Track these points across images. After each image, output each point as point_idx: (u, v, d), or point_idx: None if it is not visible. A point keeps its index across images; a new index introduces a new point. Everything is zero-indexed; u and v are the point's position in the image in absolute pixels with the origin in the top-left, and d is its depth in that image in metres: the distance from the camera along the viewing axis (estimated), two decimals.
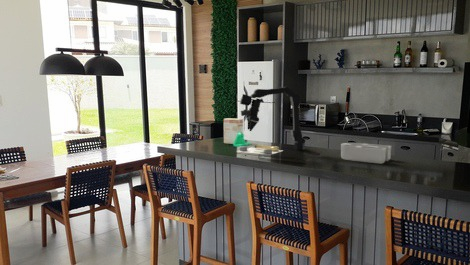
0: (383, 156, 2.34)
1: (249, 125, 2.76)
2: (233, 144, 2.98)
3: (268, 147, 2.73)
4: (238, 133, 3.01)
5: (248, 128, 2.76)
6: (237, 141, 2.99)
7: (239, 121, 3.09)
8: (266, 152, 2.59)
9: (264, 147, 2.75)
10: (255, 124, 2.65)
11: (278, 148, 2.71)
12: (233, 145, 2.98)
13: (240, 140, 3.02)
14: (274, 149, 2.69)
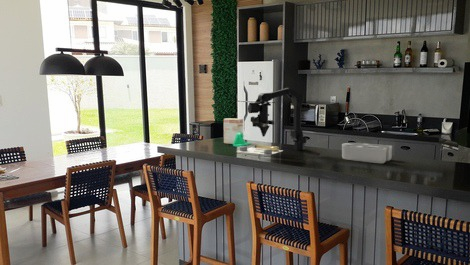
0: (384, 156, 2.35)
1: None
2: (233, 144, 2.99)
3: (268, 147, 2.73)
4: (238, 133, 3.01)
5: (263, 135, 2.65)
6: (237, 141, 3.00)
7: (239, 121, 3.09)
8: (266, 152, 2.59)
9: (264, 147, 2.75)
10: (264, 129, 2.62)
11: (278, 148, 2.71)
12: (233, 145, 2.99)
13: (239, 140, 3.02)
14: (274, 149, 2.69)
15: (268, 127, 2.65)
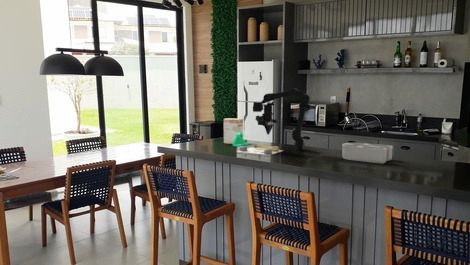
0: (384, 156, 2.35)
1: None
2: None
3: (268, 147, 2.73)
4: (237, 133, 3.01)
5: (267, 133, 2.80)
6: (236, 141, 3.00)
7: (239, 121, 3.09)
8: (266, 152, 2.59)
9: (264, 147, 2.75)
10: (269, 127, 2.77)
11: (278, 148, 2.71)
12: (233, 145, 2.99)
13: (239, 140, 3.02)
14: (274, 149, 2.69)
15: (272, 125, 2.79)
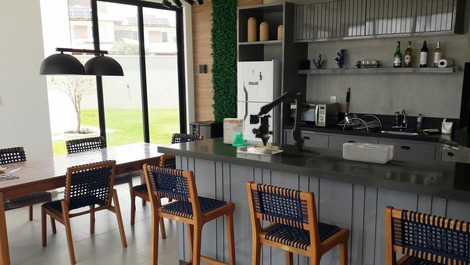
0: (385, 156, 2.35)
1: None
2: (232, 144, 2.99)
3: (268, 147, 2.73)
4: (237, 133, 3.01)
5: (264, 145, 2.78)
6: (236, 141, 3.00)
7: (239, 121, 3.09)
8: (266, 152, 2.59)
9: (264, 147, 2.75)
10: (266, 140, 2.75)
11: (278, 148, 2.71)
12: (232, 145, 2.99)
13: (239, 140, 3.02)
14: (274, 149, 2.69)
15: None
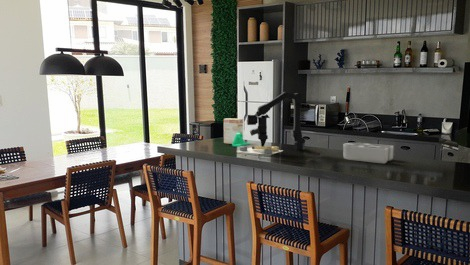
0: (385, 156, 2.35)
1: None
2: (232, 144, 2.99)
3: (268, 147, 2.72)
4: (237, 133, 3.01)
5: None
6: (236, 141, 3.00)
7: (239, 121, 3.09)
8: (266, 152, 2.59)
9: (263, 148, 2.73)
10: (265, 140, 2.73)
11: (278, 148, 2.72)
12: (232, 145, 2.99)
13: (239, 140, 3.02)
14: (276, 149, 2.69)
15: None
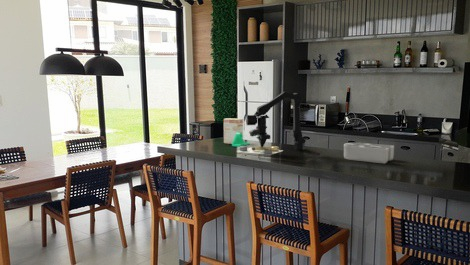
0: (386, 156, 2.35)
1: None
2: (232, 144, 2.99)
3: (268, 148, 2.71)
4: (237, 133, 3.01)
5: None
6: (236, 141, 3.00)
7: (239, 121, 3.09)
8: (266, 152, 2.59)
9: (264, 148, 2.70)
10: (265, 140, 2.71)
11: None
12: (232, 145, 2.99)
13: (238, 140, 3.02)
14: (277, 149, 2.70)
15: None
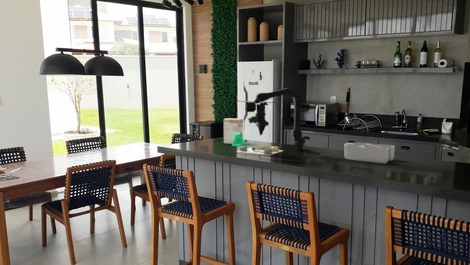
0: (386, 156, 2.35)
1: None
2: (232, 144, 2.99)
3: (268, 148, 2.71)
4: (237, 133, 3.02)
5: None
6: (236, 141, 3.00)
7: (239, 121, 3.09)
8: (266, 152, 2.59)
9: (264, 148, 2.70)
10: (264, 127, 2.71)
11: None
12: (232, 145, 2.99)
13: (238, 140, 3.03)
14: (277, 149, 2.70)
15: None
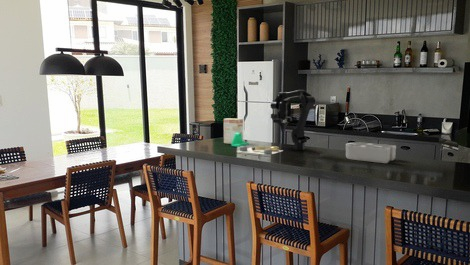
0: (387, 156, 2.35)
1: None
2: (231, 144, 3.00)
3: (268, 148, 2.71)
4: (236, 133, 3.02)
5: None
6: (235, 141, 3.01)
7: (239, 121, 3.09)
8: (266, 152, 2.59)
9: (264, 148, 2.70)
10: (284, 125, 2.86)
11: None
12: (231, 145, 3.00)
13: (238, 140, 3.03)
14: (277, 149, 2.70)
15: (287, 123, 2.89)
